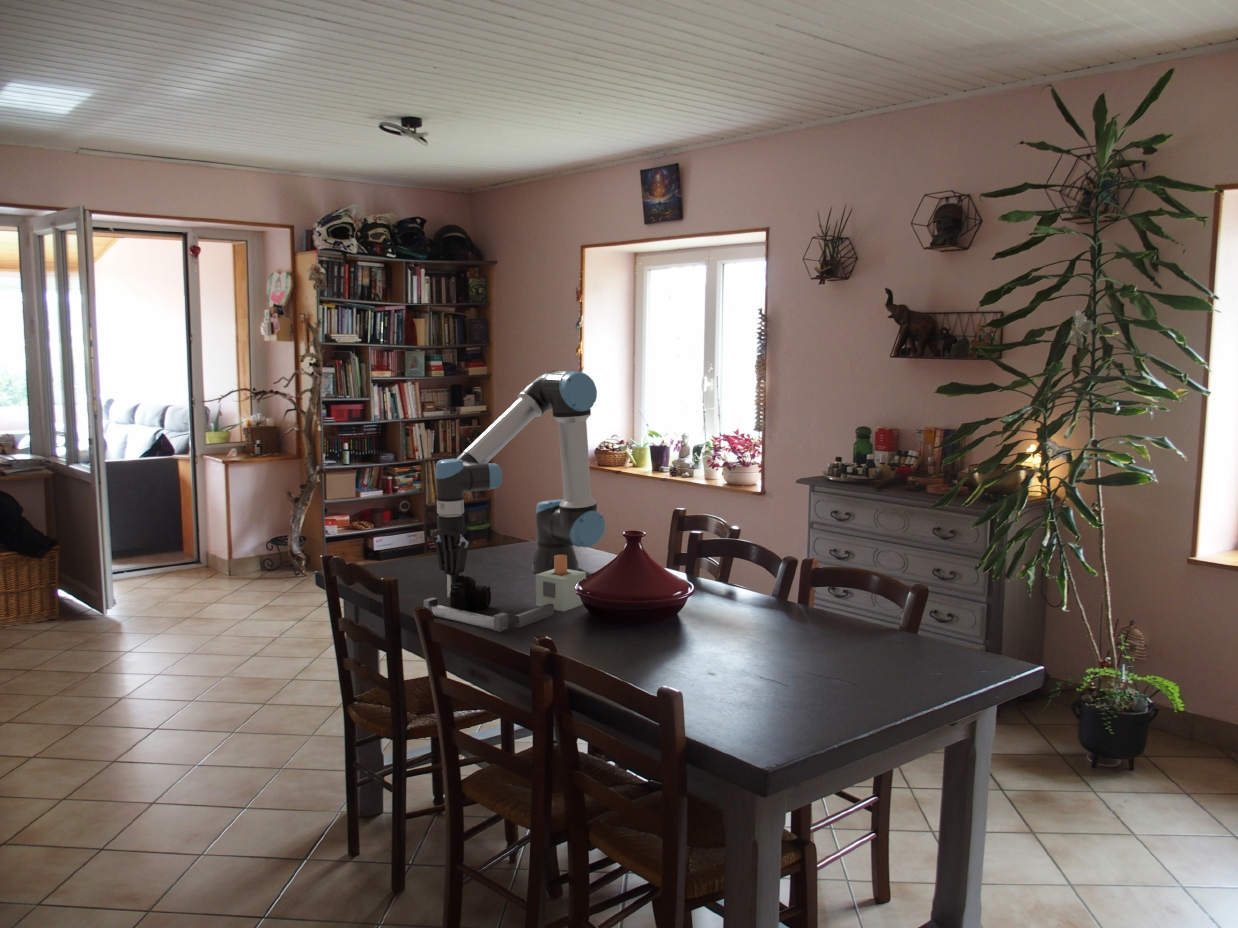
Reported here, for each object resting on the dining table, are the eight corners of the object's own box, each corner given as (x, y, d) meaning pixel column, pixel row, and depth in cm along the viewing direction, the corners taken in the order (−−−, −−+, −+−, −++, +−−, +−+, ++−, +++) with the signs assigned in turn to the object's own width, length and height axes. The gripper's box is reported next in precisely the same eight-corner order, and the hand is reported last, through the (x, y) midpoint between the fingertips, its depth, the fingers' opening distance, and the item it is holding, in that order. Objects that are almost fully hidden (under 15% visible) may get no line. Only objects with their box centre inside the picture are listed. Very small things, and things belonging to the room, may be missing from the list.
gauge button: (559, 574, 268) (559, 553, 267) (569, 576, 266) (569, 555, 265) (551, 577, 265) (551, 556, 265) (561, 579, 263) (561, 557, 262)
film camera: (481, 616, 256) (480, 584, 254) (446, 615, 257) (445, 583, 255) (494, 601, 271) (494, 570, 269) (461, 600, 272) (460, 570, 270)
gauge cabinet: (558, 597, 274) (558, 567, 273) (586, 603, 268) (585, 572, 267) (535, 606, 265) (534, 574, 264) (562, 611, 260) (562, 579, 258)
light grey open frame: (474, 598, 274) (474, 584, 274) (553, 614, 257) (553, 600, 256) (423, 614, 258) (423, 599, 258) (504, 633, 241) (504, 617, 241)
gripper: (424, 513, 267) (427, 595, 270) (457, 519, 259) (459, 602, 262) (444, 510, 273) (446, 589, 276) (476, 514, 265) (478, 596, 268)
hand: (452, 595), depth 269 cm, fingers closed
